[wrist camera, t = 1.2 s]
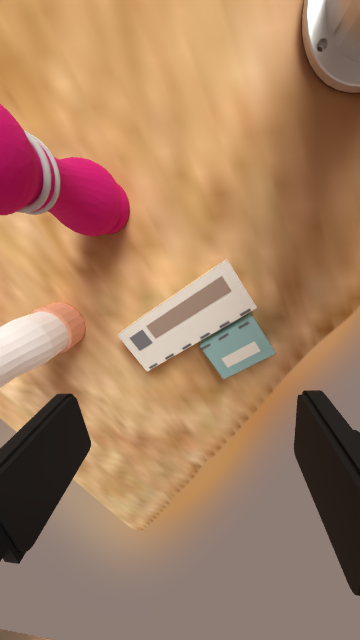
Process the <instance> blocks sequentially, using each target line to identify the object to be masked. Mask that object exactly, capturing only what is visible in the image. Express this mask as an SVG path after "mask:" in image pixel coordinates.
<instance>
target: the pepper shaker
mask: <svg viewBox="0 0 360 640" xmlns="http://www.w3.org/2000/svg"><path fill="white" fill-rule="evenodd" d="M84 334H85V324H84V320H83V318H82V316H81V315H80V313H79V312H78V311H77V310H76V309H75V308H73V307H72V306H70V305H68V304H65V303H62V302H55V303H52V304H50V305H47V306H44V307H41V308H38V309H36V310H33V311H32V312H31V313H30V314H29V315H27V316H24V317H21V318H18V319H15V320H12V321H10V322H8V323H6V324H5V325H3V326H1V327H0V388H1V387H2V386H4V385H5V384H7V383H8V382H10V381H11V380H13V379H14V378H16V377H18V376H20V375H22V374H24V373H26V372H28V371H30V370H32V369H35V368H37V367H39V366H41V365H43V364H45V363H46V362H47V361H49V360H50V359H51V358H53V357H54V356H55V355H57V354H61V353H64V352H66V351H67V350H68V349H70V348H71V347H73V346H74V345H75V344H77V343H78V342H79V341H81V340H82V338H83V336H84Z"/></svg>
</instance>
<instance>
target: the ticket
mask: <svg viewBox="0 0 360 640" xmlns="http://www.w3.org/2000/svg"><path fill="white" fill-rule="evenodd" d="M256 308H257V306H256V305H255V303H254V302H253V300H252V298H251V297H250V295H249V294H248V292H247V290H246V289H245V287H244V286H243V284H242V282H241V281H240V279H239V278H238V276H237V274H236V273H235V271H234V270H233V268H232V266H231V265H230V263H229V261H228V260H227V259H225V260H223V261H222V262H220V263H219V264H218V265H216V266H215V267H213V268H212V269H210V270H209V271H207V272H206V273H204V274H203V275H202V276H200V277H199V278H197V279H196V280H194V281H193V282H191V283H190V284H188V285H187V286H186V287H184V288H183V289H181V290H180V291H178V292H177V293H175V294H174V295H172V296H171V297H170V298H168V299H167V300H165V301H164V302H162V303H161V304H159V305H158V306H156V307H155V308H153V309H152V310H151V311H149V312H148V313H146V314H145V315H143V316H142V317H140V318H139V319H137V320H136V321H135V322H133V323H132V324H130V325H129V326H127V327H126V328H124V329H123V330H122V331H121V332H120V333H119V334H118V335H117V336H118V337H119V338H120V339H121V340H122V342H123V343H124V344H125V345H126V347H127V348H128V349H129V350H130V352H131V353H132V354H133V355H134V356H135V358H136V359H137V360H138V361H139V363H140V364H141V365H142V366H143V368H144V369H145V370H146V371H149V370H151V369H152V368H154V367H156V366H158V365H159V364H161V363H163V362H165V361H166V360H168V359H170V358H172V357H173V356H175V355H177V354H178V353H180V352H182V351H184V350H185V349H187V348H189V347H191V346H192V345H194V344H196V343H197V342H199V341H201V340H203V339H204V338H206V337H208V336H210V335H211V334H213V333H215V332H216V331H218V330H220V329H222V328H223V327H225V326H227V325H229V324H230V323H232V322H234V321H235V320H237V319H239V318H241V317H242V316H244V315H246V314H248V313H249V312H251V311H253V310H254V309H256Z"/></svg>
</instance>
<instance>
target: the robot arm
mask: <svg viewBox="0 0 360 640" xmlns="http://www.w3.org/2000/svg"><path fill="white" fill-rule="evenodd" d="M302 36H303V42H304V48H305V52H306V55H307V58H308V60H309V63H310V65H311V67H312V68H313V70H314V71H315V73H316V74H317V76H318V77H319V78H320V79H321V80H323V81H324V82H325V83H326V84H327V85H329V86H331V87H333V88H335V89H337V90H340V91H344V92H349V93H359V92H360V0H304V7H303V15H302ZM90 447H91V440H90V437H89V434H88V431H87V428H86V425H85V422H84V419H83V416H82V413H81V410H80V407H79V404H78V402H77V399H76V398H75V397H74V396H73V395H72V394H57V395H56V396H55V397H53V398H52V399H51V400H50V401H49V402H48V403H47V404H46V405H45V406H44V407H43V408H42V409H41V410H40V411H39V412H38V413H37V414H36V415H35V416H34V417H33V418H32V419H31V420H30V421H29V422H27V423H26V424H25V425H24V426H23V427H22V428H21V429H20V430H19V431H18V432H17V433H16V434H15V435H14V436H13V437H12V438H11V439H10V440H9V441H8V442H7V443H6V444H5V445H4V446H3V447H1V448H0V561H1V559H2V558H3V559H4V561H5V562H11V563H18V564H19V563H20V561H21V560H22V558H23V556H24V555H25V553H26V551H28V550H29V549H30V548H31V547H32V546H33V545H34V543H35V541H36V540H37V538H38V536H39V535H40V533H41V531H42V530H43V528H44V526H45V525H46V523H47V521H48V519H49V518H50V516H51V514H52V513H53V511H54V509H55V508H56V506H57V504H58V503H59V501H60V499H61V497H62V496H63V494H64V492H65V491H66V489H67V487H68V486H69V484H70V482H71V481H72V479H73V477H74V475H75V474H76V472H77V470H78V469H79V467H80V465H81V464H82V462H83V460H84V459H85V457H86V455H87V453H88V452H89V450H90ZM294 452H295V456H296V459H297V461H298V464H299V466H300V468H301V471H302V473H303V476H304V478H305V481H306V483H307V486H308V488H309V490H310V493H311V495H312V497H313V500H314V502H315V505H316V507H317V509H318V512H319V514H320V517H321V519H322V522H323V524H324V526H325V529H326V531H327V534H328V536H329V539H330V541H331V543H332V546H333V548H334V550H335V553H336V555H337V558H338V560H339V563H340V565H341V568H342V570H343V572H344V575H345V577H346V580H347V582H348V584H349V586H350V588H351V590H352V592H353V593H354V594H355V595H359V596H360V432H358V431H356V430H352V428H351V427H350V426H349V424H348V423H347V422H346V420H345V419H344V418H343V417H342V415H341V414H340V413H339V412H338V410H337V409H336V408H335V407H334V405H333V404H332V403H331V401H330V400H329V399H328V398H327V396H326V395H325V394H324V393H323V392H322V391H320V390H319V391H303V394H302V395H298V400H297V413H296V428H295V440H294ZM0 640H52V639H47V638H42V637H38V636H33V635H28V634H23V633H17V632H12V631H7V630H2V629H0Z"/></svg>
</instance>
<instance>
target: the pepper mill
mask: <svg viewBox="0 0 360 640" xmlns="http://www.w3.org/2000/svg"><path fill="white" fill-rule="evenodd" d="M46 211H49V212H50V213H52V214H53V215H54V216H55V217H56V218H57V219H58V220H59V221H60V222H61V223H62V224H64V225H65V226H66V227H68V228H70V229H71V230H73V231H75V232H77V233H80V234H83V235H87V236H100V235H103V234H113V233H116V232H118V231H120V230H121V229H122V228H123V227H124V226H125V224H126V222H127V220H128V217H129V211H130V207H129V201H128V198H127V195H126V193H125V192H124V190H123V189H122V187H121V186H120V185H118V184H117V183H116V182H115V180H114V178H113V177H112V176H111V174H110V173H109V172H108V171H107V170H106V169H105V168H103V167H102V166H100V165H99V164H97V163H95V162H93V161H91V160H88V159H84V158H76V157H70V158H65V159H60V160H59V159H57V158H55V157H53V155H52V153H51V152H50V150H49V149H48V148H47V147H46V146H45V145H44V144H43V143H42V142H41V141H40V140H39V139H37V138H36V137H34V136H32V135H30V134H29V133H28V132H26V131H25V130H23V129H22V127H21V126H20V125H19V123H18V122H17V121H16V120H15V118H14V117H13V116H12V115H11V114H10V113H9V111H8V110H7V109H5V108H4V107H3V106H2V105H1V104H0V215H8V214H12V213H14V212H22V213H27V214H32V215H37V214H42V213H45V212H46Z"/></svg>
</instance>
